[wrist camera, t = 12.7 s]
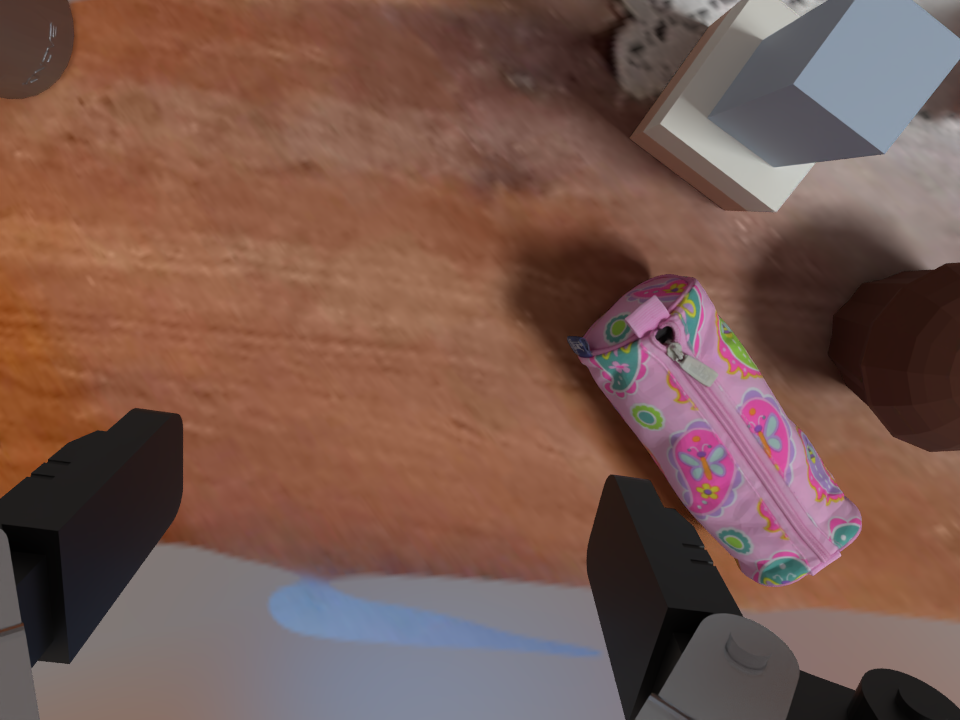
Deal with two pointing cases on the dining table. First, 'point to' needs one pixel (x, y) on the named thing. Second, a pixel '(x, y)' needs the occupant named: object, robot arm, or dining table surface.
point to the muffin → (905, 354)
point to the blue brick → (837, 82)
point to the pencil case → (718, 431)
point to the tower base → (691, 98)
